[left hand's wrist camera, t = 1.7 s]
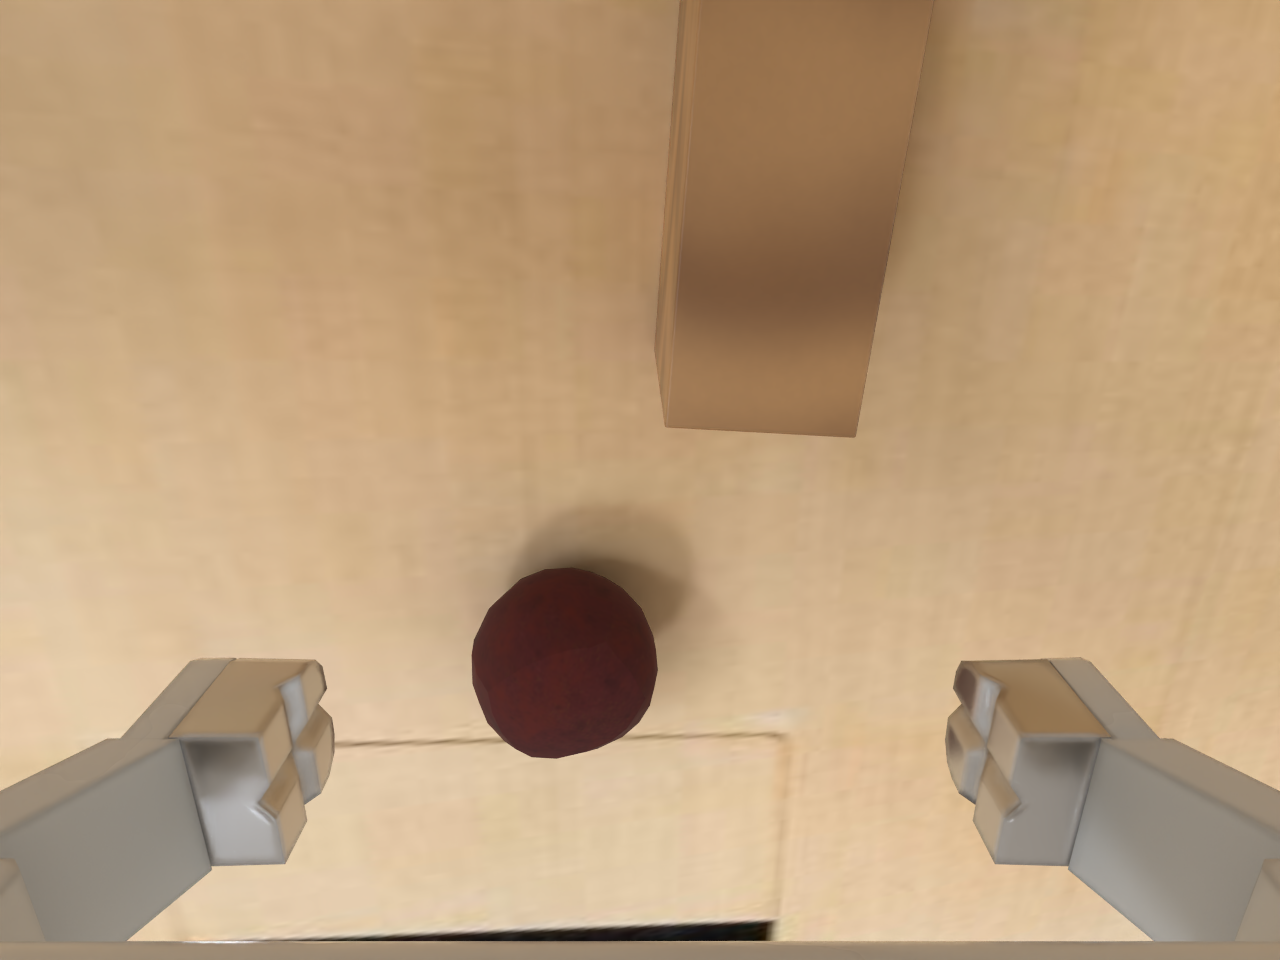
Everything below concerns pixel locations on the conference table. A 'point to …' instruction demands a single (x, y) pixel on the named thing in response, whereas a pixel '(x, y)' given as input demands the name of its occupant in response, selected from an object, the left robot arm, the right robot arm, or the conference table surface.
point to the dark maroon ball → (563, 663)
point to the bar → (781, 207)
